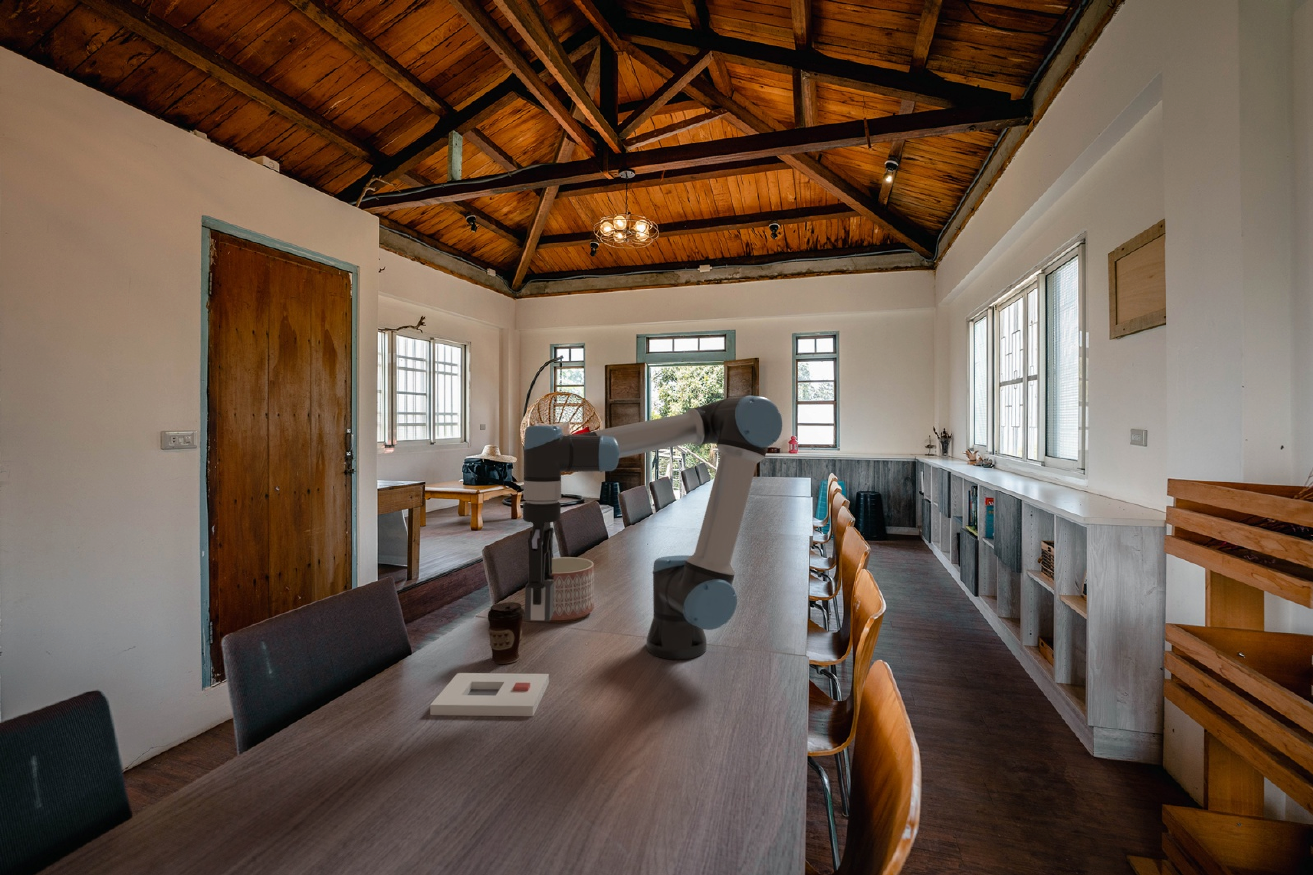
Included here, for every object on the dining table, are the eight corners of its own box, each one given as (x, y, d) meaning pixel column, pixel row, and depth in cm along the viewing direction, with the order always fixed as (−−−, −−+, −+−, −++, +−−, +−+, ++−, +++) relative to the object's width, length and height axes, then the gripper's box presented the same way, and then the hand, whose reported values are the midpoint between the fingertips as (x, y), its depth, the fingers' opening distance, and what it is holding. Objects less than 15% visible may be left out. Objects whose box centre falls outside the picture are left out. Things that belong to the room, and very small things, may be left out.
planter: (606, 610, 170) (606, 562, 170) (564, 630, 154) (563, 576, 153) (559, 600, 180) (559, 554, 180) (514, 617, 164) (514, 567, 164)
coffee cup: (513, 668, 129) (513, 612, 129) (480, 665, 131) (480, 610, 130) (529, 653, 138) (529, 601, 137) (498, 651, 139) (498, 599, 139)
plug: (553, 614, 116) (554, 581, 116) (549, 621, 112) (550, 586, 112) (529, 614, 116) (530, 580, 116) (524, 620, 112) (525, 585, 112)
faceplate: (548, 683, 122) (548, 670, 122) (533, 716, 108) (532, 701, 108) (457, 682, 122) (457, 669, 122) (430, 715, 108) (430, 700, 108)
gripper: (533, 496, 122) (531, 602, 123) (512, 506, 105) (510, 630, 106) (567, 496, 122) (565, 603, 123) (552, 507, 105) (550, 631, 106)
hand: (540, 615), depth 114 cm, fingers closed on plug, 4 cm apart
